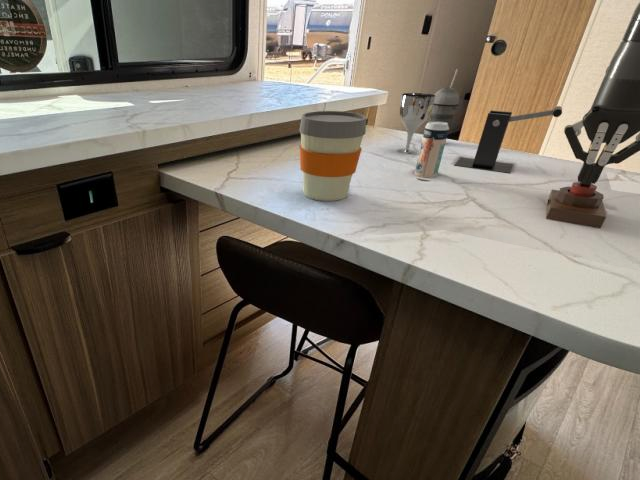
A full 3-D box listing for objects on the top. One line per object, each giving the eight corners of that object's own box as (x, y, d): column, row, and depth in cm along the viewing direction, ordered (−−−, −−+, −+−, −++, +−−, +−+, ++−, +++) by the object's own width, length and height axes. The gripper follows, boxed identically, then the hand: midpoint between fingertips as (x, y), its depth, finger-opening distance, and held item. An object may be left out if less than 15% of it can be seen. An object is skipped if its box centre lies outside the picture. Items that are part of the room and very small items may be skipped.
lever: (561, 115, 91) (562, 103, 90) (561, 118, 87) (562, 106, 86) (491, 126, 98) (492, 115, 97) (489, 129, 95) (489, 118, 94)
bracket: (511, 168, 102) (531, 112, 95) (508, 177, 96) (529, 118, 88) (459, 161, 107) (474, 107, 100) (452, 169, 101) (468, 113, 94)
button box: (547, 200, 83) (555, 180, 81) (596, 207, 79) (606, 187, 77) (545, 219, 75) (554, 197, 73) (600, 228, 71) (611, 206, 69)
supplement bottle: (412, 175, 97) (424, 120, 91) (433, 176, 96) (447, 121, 90) (415, 181, 93) (428, 124, 87) (437, 182, 92) (452, 125, 86)
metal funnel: (423, 161, 108) (439, 97, 99) (392, 159, 109) (404, 96, 101) (418, 153, 114) (432, 93, 106) (388, 152, 115) (399, 92, 107)
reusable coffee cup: (342, 182, 92) (352, 109, 84) (365, 202, 82) (379, 121, 74) (287, 185, 91) (292, 111, 82) (305, 206, 80) (312, 123, 72)
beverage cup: (427, 143, 125) (445, 67, 114) (451, 147, 120) (472, 68, 109) (415, 147, 120) (433, 68, 109) (439, 151, 116) (460, 70, 105)
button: (568, 190, 77) (572, 180, 76) (592, 193, 76) (596, 184, 75) (568, 195, 75) (572, 185, 74) (593, 199, 73) (597, 189, 72)
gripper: (584, 75, 65) (540, 184, 75) (697, 79, 59) (634, 197, 68) (582, 71, 70) (542, 174, 80) (686, 75, 64) (629, 185, 74)
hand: (584, 184), depth 74 cm, fingers closed
